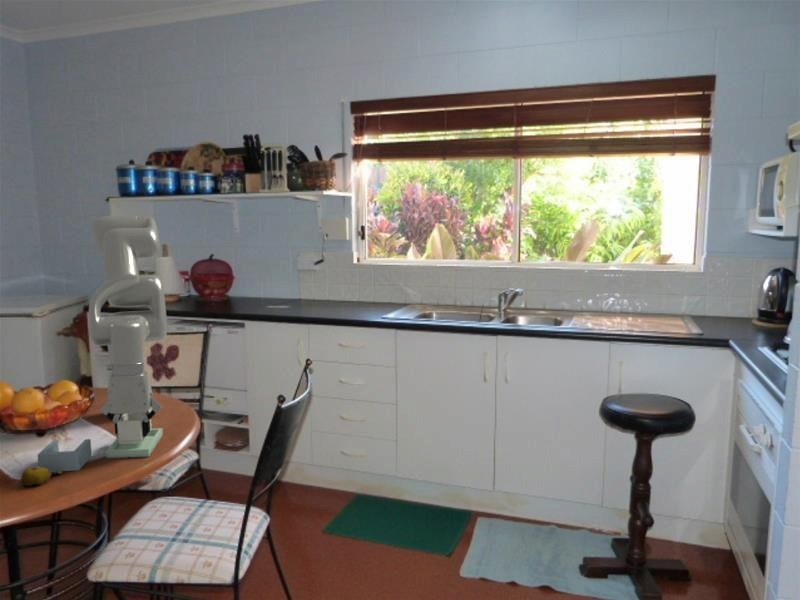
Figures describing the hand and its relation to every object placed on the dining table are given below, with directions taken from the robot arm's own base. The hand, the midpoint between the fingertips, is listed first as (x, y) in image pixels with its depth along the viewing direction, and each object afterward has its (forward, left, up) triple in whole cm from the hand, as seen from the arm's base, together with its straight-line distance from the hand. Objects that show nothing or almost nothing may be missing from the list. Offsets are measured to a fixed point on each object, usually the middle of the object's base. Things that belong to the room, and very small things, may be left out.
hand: (133, 435), depth 159 cm
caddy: (-2, 0, -1) cm, 2 cm away
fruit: (+15, -17, -4) cm, 23 cm away
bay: (+7, -14, -4) cm, 16 cm away
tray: (-2, 0, -4) cm, 5 cm away
